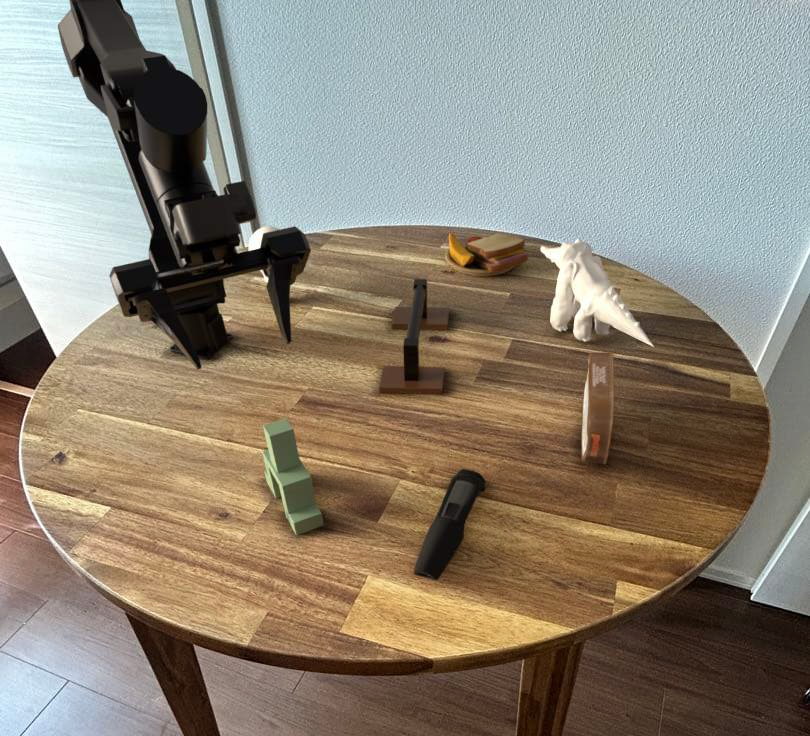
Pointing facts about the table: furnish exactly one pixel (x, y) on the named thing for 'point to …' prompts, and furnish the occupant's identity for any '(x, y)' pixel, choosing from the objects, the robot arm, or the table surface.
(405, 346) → the toy hurdle
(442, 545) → the electric trimmer
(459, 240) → the toy sandwich meal
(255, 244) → the lightbulb
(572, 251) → the toy dinosaur
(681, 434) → the table surface
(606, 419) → the brown product box
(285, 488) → the green stepped block figure
